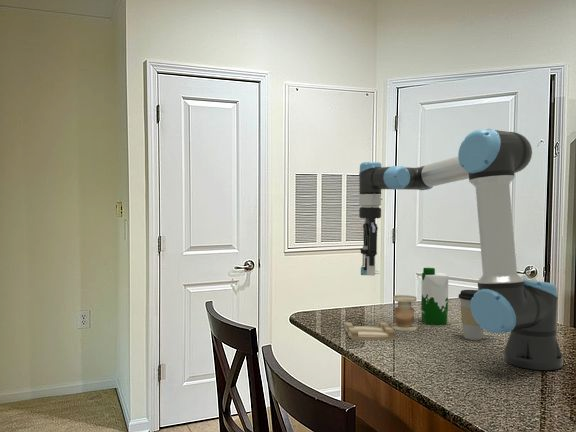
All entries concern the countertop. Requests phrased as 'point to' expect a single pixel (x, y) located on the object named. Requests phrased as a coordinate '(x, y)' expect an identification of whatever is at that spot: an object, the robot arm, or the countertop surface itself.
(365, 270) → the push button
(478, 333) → the coffee cup
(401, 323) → the bobbin
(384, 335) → the terminal board
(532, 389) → the countertop surface
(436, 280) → the milk carton
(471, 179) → the robot arm
